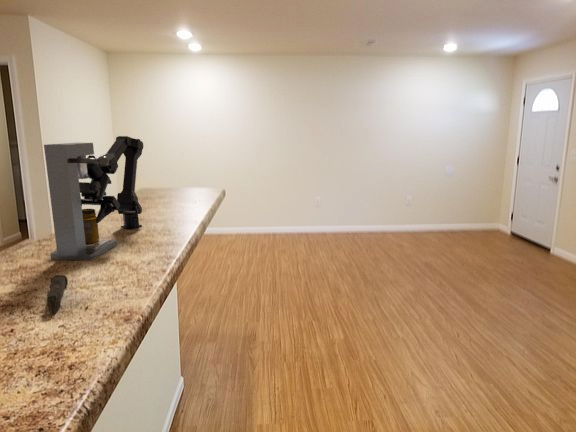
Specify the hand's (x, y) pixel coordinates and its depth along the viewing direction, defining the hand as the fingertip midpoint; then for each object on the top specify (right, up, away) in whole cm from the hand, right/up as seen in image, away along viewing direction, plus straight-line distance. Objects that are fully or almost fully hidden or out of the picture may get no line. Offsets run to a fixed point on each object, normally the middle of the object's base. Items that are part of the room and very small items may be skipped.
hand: (84, 222), depth 141 cm
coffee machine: (+4, -11, +1) cm, 11 cm away
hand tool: (+13, -20, -37) cm, 44 cm away
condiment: (0, -8, +3) cm, 8 cm away
